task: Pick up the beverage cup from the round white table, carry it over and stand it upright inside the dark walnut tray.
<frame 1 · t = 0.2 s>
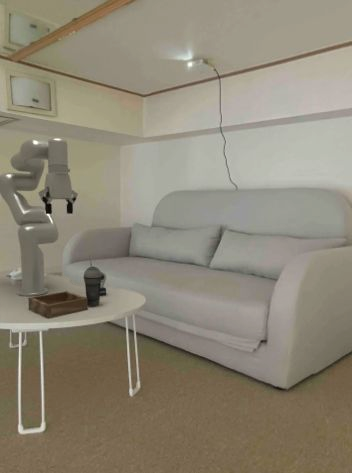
hand: (59, 213, 149), 37 cm above the table, tool pointing down, fingers open, 9 cm apart
watch: (98, 295, 166), on the table
beverage cup: (93, 305, 149), on the table
walnut tray: (58, 309, 143), on the table
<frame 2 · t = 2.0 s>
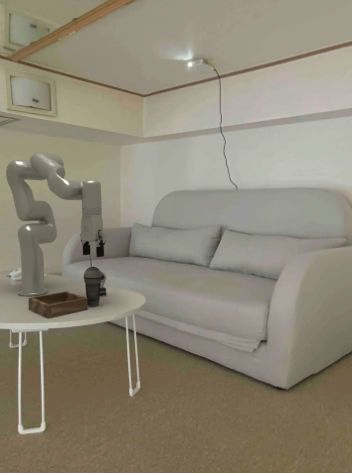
hand: (93, 255, 147), 20 cm above the table, tool pointing down, fingers open, 9 cm apart
nothing on the table moved.
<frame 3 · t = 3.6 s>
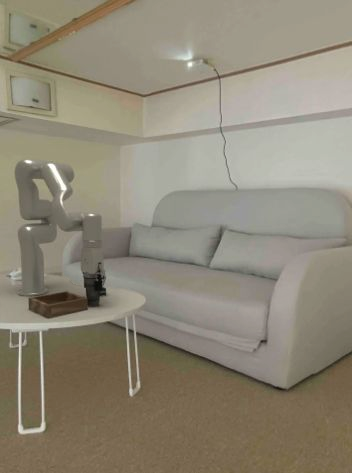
hand: (93, 288, 149), 7 cm above the table, tool pointing down, fingers closed on beverage cup, 7 cm apart
beverage cup: (93, 305, 149), on the table, touching gripper
everything else where it was.
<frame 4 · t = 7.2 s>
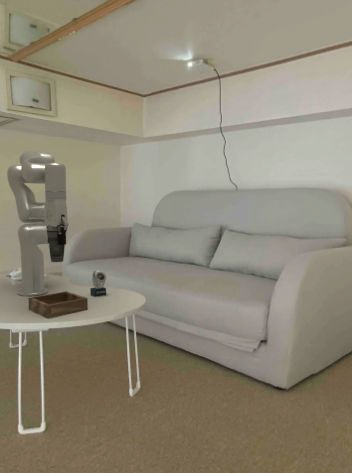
hand: (56, 243, 141), 25 cm above the table, tool pointing down, fingers closed on beverage cup, 7 cm apart
beverage cup: (57, 261, 142), point 18 cm above the table, touching gripper
everything else where it was.
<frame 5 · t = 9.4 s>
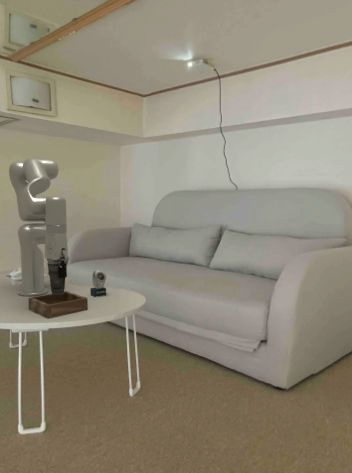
hand: (57, 276, 142), 13 cm above the table, tool pointing down, fingers closed on beverage cup, 7 cm apart
beverage cup: (58, 294, 142), point 6 cm above the table, touching gripper
everything else where it was.
when the fingers open (9 cm above the table, at t = 10.9 s): beverage cup stays where it is, resting on walnut tray.
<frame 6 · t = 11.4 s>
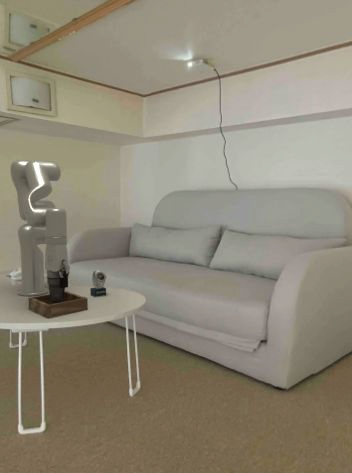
hand: (57, 285, 142), 9 cm above the table, tool pointing down, fingers open, 9 cm apart
beverage cup: (57, 307, 143), point 1 cm above the table, touching walnut tray
everything else where it was.
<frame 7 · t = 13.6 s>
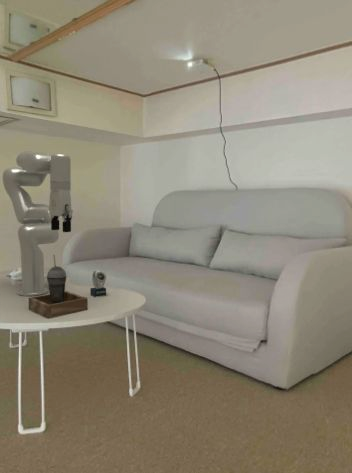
hand: (60, 230, 146), 30 cm above the table, tool pointing down, fingers open, 9 cm apart
nothing on the table moved.
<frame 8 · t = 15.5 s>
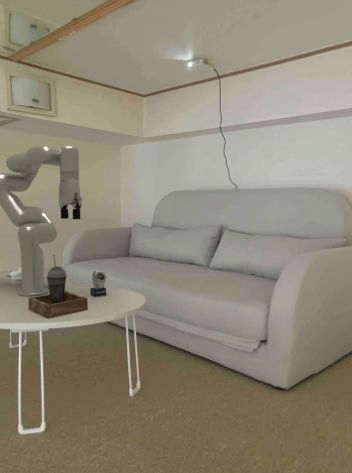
hand: (70, 218, 154), 34 cm above the table, tool pointing down, fingers open, 9 cm apart
nothing on the table moved.
at the end: beverage cup inside the target area on the walnut tray (0.6 cm from its centre), point 0.8 cm above the walnut tray's base; beverage cup tilted 0°; the gripper is holding nothing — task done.
